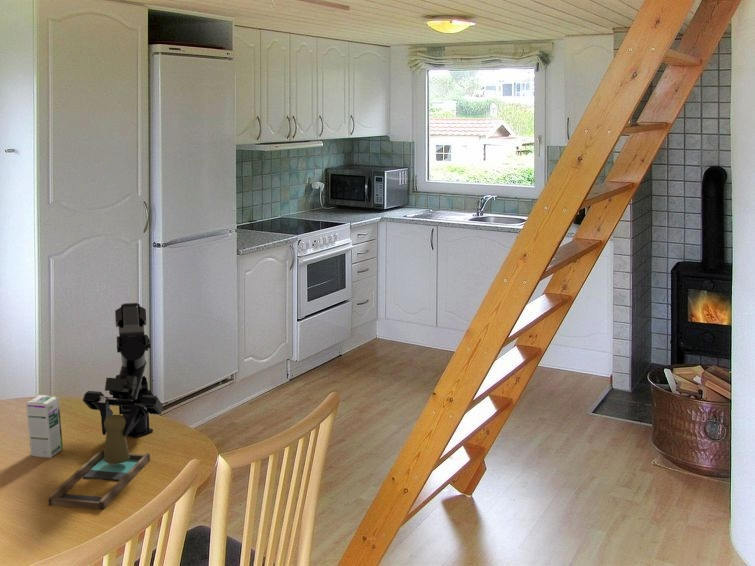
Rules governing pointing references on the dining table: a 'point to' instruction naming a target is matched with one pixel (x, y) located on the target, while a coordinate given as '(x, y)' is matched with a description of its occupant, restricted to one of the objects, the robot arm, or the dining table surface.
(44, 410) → the syrup box
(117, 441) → the cork
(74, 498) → the channel
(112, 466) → the pad
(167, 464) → the dining table surface
